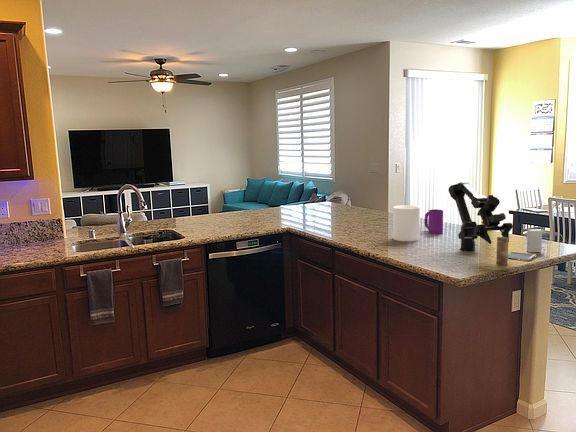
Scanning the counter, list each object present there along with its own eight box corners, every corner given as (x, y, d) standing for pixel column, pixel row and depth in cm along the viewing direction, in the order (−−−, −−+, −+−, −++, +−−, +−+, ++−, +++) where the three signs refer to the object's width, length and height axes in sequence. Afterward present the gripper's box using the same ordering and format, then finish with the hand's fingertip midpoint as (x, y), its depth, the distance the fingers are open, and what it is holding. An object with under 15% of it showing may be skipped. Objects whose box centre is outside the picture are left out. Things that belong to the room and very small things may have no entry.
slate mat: (503, 258, 242) (503, 255, 242) (511, 253, 251) (511, 251, 251) (529, 261, 234) (529, 258, 234) (536, 256, 243) (536, 254, 243)
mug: (434, 234, 306) (434, 211, 303) (419, 230, 320) (419, 208, 317) (445, 233, 309) (446, 210, 307) (430, 229, 323) (430, 207, 321)
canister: (420, 241, 287) (420, 208, 284) (393, 241, 291) (393, 208, 287) (418, 236, 303) (418, 205, 300) (392, 236, 306) (392, 205, 303)
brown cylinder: (494, 264, 231) (495, 238, 229) (498, 262, 235) (499, 236, 233) (505, 265, 228) (506, 239, 226) (508, 263, 232) (510, 237, 230)
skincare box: (537, 250, 255) (538, 228, 253) (541, 252, 251) (542, 230, 249) (525, 251, 255) (526, 229, 253) (530, 253, 251) (531, 230, 249)
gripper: (476, 208, 234) (488, 234, 225) (511, 206, 236) (524, 232, 227) (468, 222, 243) (479, 247, 233) (501, 220, 245) (514, 245, 236)
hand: (499, 242), depth 232 cm, fingers open, 9 cm apart
